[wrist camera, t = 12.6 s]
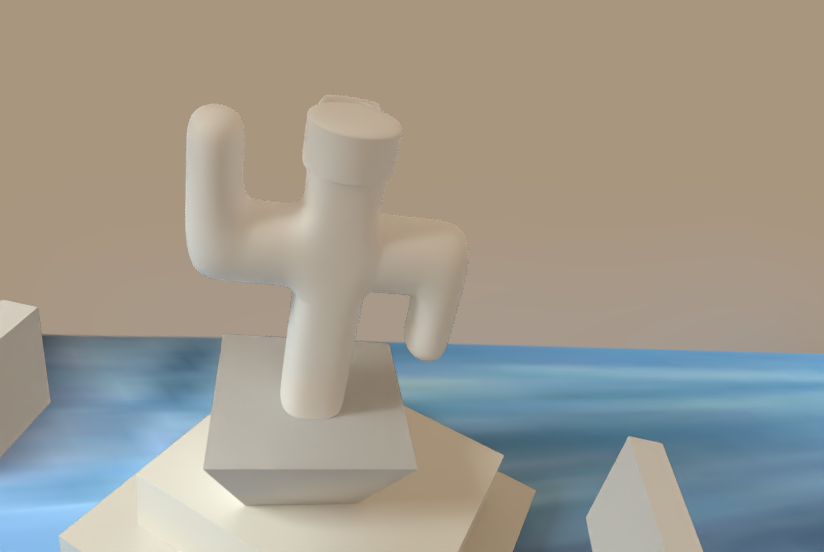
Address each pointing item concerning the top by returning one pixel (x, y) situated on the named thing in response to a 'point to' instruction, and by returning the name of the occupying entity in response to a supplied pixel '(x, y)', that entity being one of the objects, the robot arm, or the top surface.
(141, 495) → the plinth
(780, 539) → the top surface
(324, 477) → the figurine
